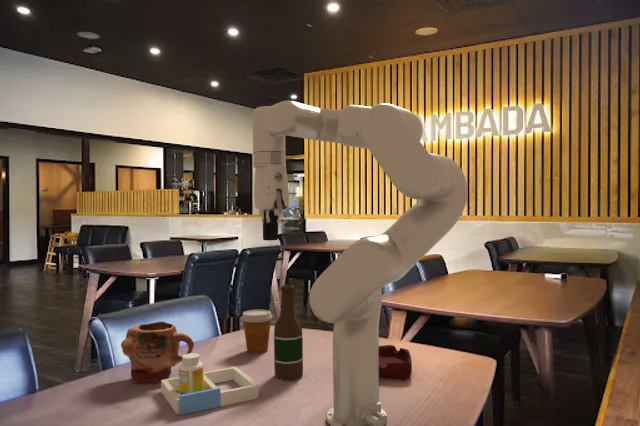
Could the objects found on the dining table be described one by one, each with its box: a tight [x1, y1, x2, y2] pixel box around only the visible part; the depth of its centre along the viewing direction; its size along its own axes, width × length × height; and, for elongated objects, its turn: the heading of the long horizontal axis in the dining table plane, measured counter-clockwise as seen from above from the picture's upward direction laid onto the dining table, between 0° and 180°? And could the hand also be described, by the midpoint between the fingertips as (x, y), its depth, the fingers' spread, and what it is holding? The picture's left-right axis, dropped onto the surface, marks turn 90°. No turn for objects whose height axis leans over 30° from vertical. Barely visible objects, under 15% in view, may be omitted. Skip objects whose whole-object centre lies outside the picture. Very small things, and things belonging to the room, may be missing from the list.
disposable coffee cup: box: [241, 309, 273, 355], centre depth 157 cm, size 10×10×12 cm
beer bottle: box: [273, 284, 304, 382], centre depth 133 cm, size 8×8×24 cm
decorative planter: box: [120, 321, 195, 385], centre depth 133 cm, size 20×12×14 cm, turn 86°
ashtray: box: [378, 344, 413, 381], centre depth 135 cm, size 18×16×5 cm
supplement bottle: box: [178, 352, 204, 395], centre depth 118 cm, size 6×6×10 cm
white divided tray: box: [160, 366, 259, 416], centre depth 121 cm, size 16×19×4 cm
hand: (270, 239), depth 117 cm, fingers closed
